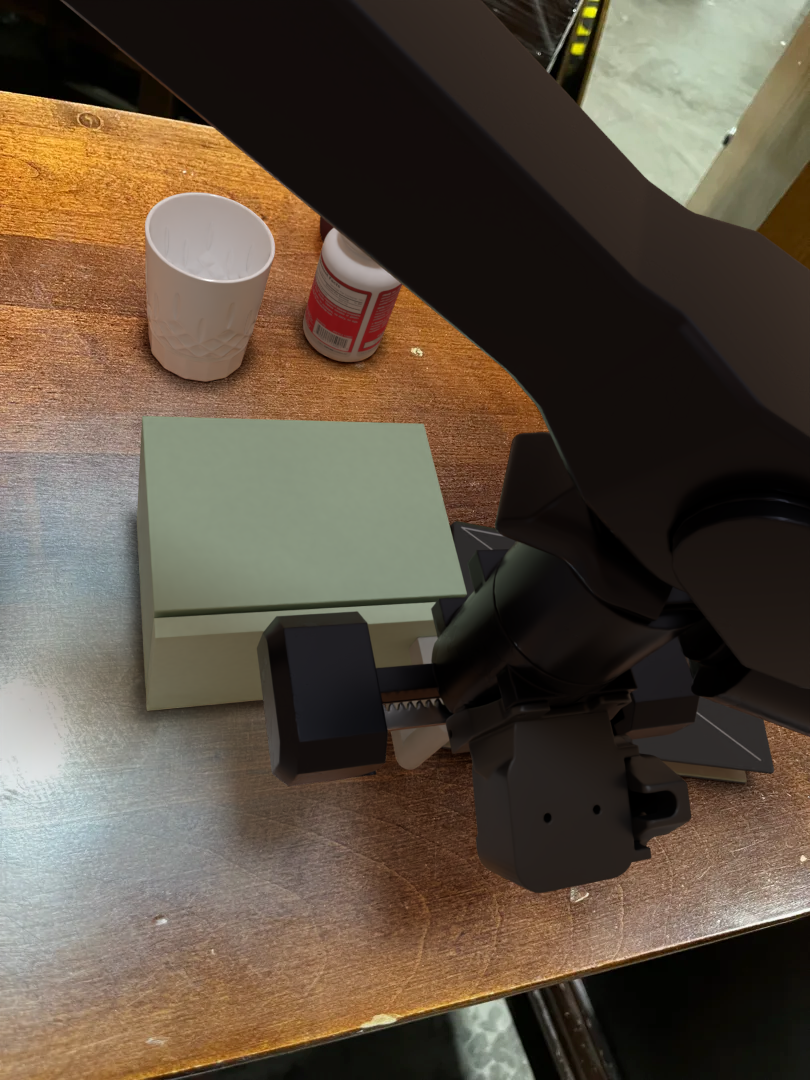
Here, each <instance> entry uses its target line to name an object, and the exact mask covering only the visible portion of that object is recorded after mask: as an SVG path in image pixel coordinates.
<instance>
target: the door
mask: <svg viewBox="0 0 810 1080" xmlns="http://www.w3.org/2000/svg"><path fill="white" fill-rule="evenodd" d="M435 603H436V602H429V603H411V604H394V605H376V606H359V607H341V608H324V609H306V610H289V611H271V612H254V613H236V614H219V615H201V616H184V617H166V618H154V621H153V631H152V640H151V650H150V659H149V669H148V678H147V688H146V689H145V702H146V703H145V708H146V711H147V712H150V711H151V712H152V711H159V710H161V711H162V710H169V709H170V710H171V709H181V708H192V707H200V706H201V707H202V706H213V705H222V704H223V705H224V704H233V703H243V702H255V701H263V696H262V688H261V679H260V671H259V663H258V655H257V646H258V644H259V641H260V639H261V636H262V634H263V632H264V631H265V629H266V628H267V627H268V626H269V625H270V623H271V622H272V621H273V620H274V618H275V617H276V616H288V615H304V614H321V613H338V612H355V611H358V612H359V614H360V615H361V616H362V617H363V618H364V619H365V621H366V622H367V623H368V629H369V634H370V639H371V644H372V650H373V655H374V660H375V666H376V668H383V667H395V666H406V665H418V664H429V663H431V659H432V651H433V647H434V643H435V642H436V641H437V639H438V638H437V633H436V629H435V624H434V620H433V616H432V611H431V608H432V607H433V606H434V604H435ZM438 699H440V701H441V702H442V704H443V701H442V699H441V698H438ZM428 700H429V699H428ZM430 700H431V702H432V703H433V705H434V701H435V700H436V699H430ZM419 701H420V700H419ZM421 701H422V703H423V705H424V706H425V702H426V701H427V700H421ZM409 702H410V701H409ZM417 702H418V701H412V703H413V704H414V706H415V708H416V703H417ZM407 703H408V702H403V704H404V706H405V708H406V707H407ZM390 704H391V703H390ZM390 704H385V708H386V709H387V711H388V706H389V705H390ZM393 704H394V706H395V707H396V709H397V706H398V704H399V703H393ZM390 736H391V740H392V745H393V751H394V756H395V760H396V762H397V763H398V765H399V766H400V767H401V768H403V769H404V770H415V769H417V768H418V767H419V766H421V765H422V764H423V763H424V762H425V761H427V760H428V759H429V758H430V757H431V756H433V755H434V754H435V753H436V752H438V751H439V750H440V749H442V748H441V747H442V746H443V745H445V744H446V743H447V742H448V741H449V737H448V732H447V728H446V725H438V726H430V727H421V728H413V729H404V730H396V731H390Z"/></svg>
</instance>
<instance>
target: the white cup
mask: <svg viewBox="0 0 810 1080" xmlns="http://www.w3.org/2000/svg"><path fill="white" fill-rule="evenodd" d="M144 244H145V245H144V249H145V250H144V251H145V252H144V255H145V256H144V258H145V259H144V260H145V261H144V262H145V263H144V264H145V265H144V266H145V267H144V268H145V271H144V273H145V278H144V279H145V297H146V317H147V320H148V340H149V345H150V346H149V347H150V351H151V354H152V356H153V357H154V358H155V359H156V360H157V362H159V364H160V365H161V366H162V368H164V370H166V371H169V372H171V373H173V374H174V375H176V376H178V377H180V378H182V379H185V380H192V381H199V382H204V383H205V382H206V383H207V382H211V381H215V380H221V379H225V378H227V377H228V376H230V375H231V374H232V373H234V372H235V371H236V370H238V369H239V368H240V367H241V365H242V363H243V361H244V357H245V355H246V351H247V348H248V345H249V340H250V338H251V337H252V336H253V332H254V329H255V326H256V322H257V319H258V316H259V313H260V312H259V311H260V309H261V306H262V303H263V299H264V295H265V292H266V288H267V285H268V280H269V276H270V273H271V268H272V266H273V262H274V258H275V254H276V243H275V239H274V236H273V234H272V231H271V229H270V228H269V226H268V225H267V224H266V223H265V221H264V220H263V219H262V218H261V217H260V216H259V215H258V214H257V213H255V212H254V211H253V210H252V209H250V208H249V207H247V206H246V205H244V204H242V203H240V202H238V201H236V200H233V199H231V198H228V197H227V196H223V195H219V194H216V193H215V194H214V193H209V192H197V191H194V192H192V191H190V192H181V193H176V194H173V195H170V196H167V197H165V198H163V199H162V200H159V202H157V203H155V205H153V207H152V208H150V211H148V214H147V215H146V218H145V222H144Z"/></svg>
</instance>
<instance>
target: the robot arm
mask: <svg viewBox="0 0 810 1080" xmlns="http://www.w3.org/2000/svg"><path fill="white" fill-rule="evenodd" d="M60 2H62V3H63V4H64V5H65V6H66V7H67V8H69V9H70V10H71V11H73V12H74V13H75V14H76V15H77V16H79V18H81V19H82V20H83V21H84V22H86V23H87V24H88V25H89V26H90V27H92V28H93V29H94V30H95V31H97V32H98V34H100V35H101V36H103V37H104V38H105V39H106V40H107V41H108V42H109V43H111V44H112V45H113V46H115V47H116V48H117V49H118V50H119V51H121V52H122V53H123V54H124V55H125V56H126V57H128V58H129V59H130V60H131V61H132V62H134V63H135V64H136V65H137V66H138V67H140V68H141V69H142V70H143V71H144V72H146V73H147V74H148V75H150V76H151V77H152V78H153V79H154V80H156V81H157V82H158V83H159V84H160V85H161V86H163V87H164V88H165V89H166V90H168V92H170V93H171V94H172V95H174V96H175V97H176V98H177V99H178V100H180V102H182V103H183V104H184V105H186V106H187V107H188V108H189V109H190V110H191V111H193V112H194V113H195V114H196V115H198V116H199V117H200V118H201V119H202V120H204V121H205V122H206V123H207V124H208V125H209V126H211V127H212V128H213V129H215V130H216V131H217V132H218V133H219V134H220V135H222V136H223V137H224V138H225V139H226V140H228V141H229V142H230V143H231V144H233V145H234V146H235V147H236V148H237V149H238V150H240V151H241V152H242V153H243V154H244V155H246V156H247V157H248V158H250V159H251V160H252V161H253V162H254V163H255V164H256V165H258V166H259V167H260V168H261V169H262V170H264V171H265V172H267V174H269V176H271V177H272V178H273V179H274V180H276V181H277V182H278V183H279V184H281V185H282V186H283V187H284V188H285V189H286V190H288V191H289V192H290V193H291V194H293V195H294V196H295V197H296V198H297V199H299V200H300V202H302V203H303V204H305V205H306V206H307V207H308V208H310V210H312V211H313V212H314V213H316V214H317V215H318V216H319V218H320V217H322V218H323V219H324V220H325V221H326V222H328V223H329V224H330V225H331V226H332V227H334V228H335V229H336V230H337V231H339V232H340V233H341V234H342V235H343V236H345V237H346V238H347V239H348V240H349V241H351V242H352V243H353V244H354V245H355V246H357V247H358V248H359V249H360V250H361V251H363V252H364V253H365V254H366V255H367V256H369V257H370V258H371V259H372V260H373V261H375V262H376V263H377V264H378V265H379V266H381V267H382V268H383V269H384V270H385V271H387V272H388V273H389V274H390V275H391V276H393V277H394V278H395V279H396V280H397V281H399V282H400V283H401V284H402V287H403V286H404V287H405V289H407V290H408V291H409V292H411V293H412V294H413V295H414V296H415V297H416V298H418V299H419V300H420V301H421V302H422V303H424V305H426V306H427V307H428V308H430V309H431V310H432V311H434V313H436V314H437V315H438V316H439V317H441V318H442V319H443V320H444V321H445V322H447V323H448V324H449V325H451V327H453V328H454V329H455V330H456V331H457V332H459V333H460V334H461V335H462V336H463V337H465V339H467V340H468V341H469V342H471V343H472V344H473V345H474V346H475V347H477V348H478V349H479V350H481V352H482V353H484V354H485V355H486V356H487V357H489V358H490V359H491V360H492V361H493V362H495V363H496V364H497V365H498V366H500V367H501V368H502V370H504V371H505V372H506V373H507V374H508V375H509V376H510V377H511V378H512V379H513V381H514V382H515V383H516V384H517V385H518V386H519V388H521V390H522V391H523V392H524V394H526V396H527V397H528V398H529V399H530V400H531V401H532V402H533V404H534V405H535V406H536V408H537V409H538V411H539V413H540V416H541V418H542V419H543V422H544V424H545V426H546V428H547V430H548V431H533V432H521V433H518V434H516V435H515V436H514V437H513V438H512V439H511V443H510V449H509V453H508V458H507V462H506V463H507V464H506V468H505V473H504V477H503V482H502V488H501V493H500V497H499V503H498V508H497V511H496V518H495V522H494V528H496V531H497V532H498V533H499V534H501V535H502V536H505V537H507V538H510V539H512V540H515V541H516V542H515V543H514V545H513V546H512V547H511V548H510V549H495V550H477V551H476V552H475V553H474V554H473V556H472V557H471V558H470V560H469V561H468V562H467V565H468V569H469V573H470V577H471V581H472V585H473V588H474V592H473V593H472V594H471V595H470V596H469V597H458V598H440V599H438V600H437V602H436V603H435V604H434V606H433V607H432V608H431V611H432V616H433V620H434V624H435V629H436V633H437V638H438V639H437V641H436V642H435V643H434V647H433V651H432V659H431V663H429V664H418V665H406V666H395V667H383V668H376V666H375V660H374V655H373V650H372V644H371V639H370V634H369V629H368V623H367V622H366V621H365V619H364V618H363V617H362V616H361V615H360V614H359V612H358V611H355V612H338V613H321V614H304V615H288V616H276V617H275V618H274V620H273V621H272V622H271V623H270V625H269V626H268V627H267V628H266V629H265V631H264V632H263V634H262V636H261V639H260V641H259V644H258V646H257V655H258V663H259V671H260V679H261V688H262V696H263V700H262V703H263V704H262V705H263V712H264V720H265V721H264V722H265V729H266V737H267V744H268V745H267V746H268V753H269V761H270V769H271V774H272V776H274V777H275V778H277V779H278V780H279V781H281V782H282V783H283V784H285V785H286V786H287V787H289V788H290V787H297V786H303V785H310V784H311V785H312V784H317V783H324V782H333V781H339V780H346V779H347V780H349V779H354V778H361V777H369V776H370V777H371V776H376V775H377V771H379V770H380V769H381V768H382V767H383V766H384V765H385V764H387V752H388V751H387V750H388V738H389V732H391V731H396V730H404V729H413V728H421V727H430V726H438V725H446V728H447V732H448V737H449V741H450V746H451V749H450V750H451V754H453V755H455V754H461V753H469V754H470V757H471V763H472V765H471V776H472V777H471V778H472V779H471V780H472V789H473V798H474V799H473V800H474V810H475V822H476V834H477V835H476V837H475V847H476V854H477V857H478V860H479V862H480V863H481V865H482V866H483V867H484V868H485V869H486V870H487V871H489V872H491V873H493V874H495V875H497V876H499V877H501V878H503V879H505V880H507V881H509V882H511V883H513V884H515V885H517V886H519V887H521V888H523V889H525V890H526V891H530V892H531V893H535V894H545V893H550V892H555V891H559V890H564V889H565V890H566V889H569V888H574V887H579V886H583V885H584V886H585V885H589V884H593V883H599V882H602V881H603V882H604V881H608V880H612V879H616V878H618V877H620V876H622V875H624V874H625V873H626V872H627V871H628V869H629V868H630V866H631V864H633V863H637V862H643V861H647V860H651V859H652V850H651V847H649V846H647V845H648V843H649V842H650V840H652V839H654V838H656V837H661V836H666V835H669V834H670V833H672V832H674V831H675V830H677V829H679V828H681V827H682V826H683V825H685V824H687V823H688V822H690V821H691V819H692V809H691V803H690V796H689V795H690V794H689V786H688V783H687V781H686V780H684V779H683V778H682V776H679V775H678V774H676V773H675V772H674V771H673V770H672V769H671V768H670V767H668V766H667V765H666V764H665V763H664V762H663V761H661V760H660V759H659V758H658V757H656V756H654V755H649V754H642V753H639V748H638V745H634V744H633V741H632V740H633V739H640V738H648V737H655V736H662V735H670V734H672V733H674V732H676V731H678V730H680V729H682V728H684V727H686V726H688V725H690V724H692V723H694V722H695V718H696V714H697V709H698V703H699V698H700V697H703V698H705V699H708V700H711V701H714V702H716V703H719V704H722V705H724V706H727V707H730V708H732V709H735V710H738V711H741V712H743V713H746V714H749V715H751V716H754V717H757V718H759V719H762V720H764V722H765V721H766V722H767V723H770V724H773V725H776V726H778V727H781V728H785V729H787V730H789V731H791V732H792V731H793V732H795V733H798V734H800V735H803V736H806V737H808V738H810V269H809V268H808V267H807V266H805V265H804V264H802V263H801V262H800V261H798V260H797V259H796V258H795V257H793V256H792V255H790V254H789V253H788V252H786V251H785V250H784V249H783V248H781V247H780V246H778V244H775V242H773V241H772V240H770V239H769V238H767V237H766V236H765V235H764V234H762V233H761V232H759V231H757V230H754V229H751V228H747V227H744V226H740V225H737V224H733V223H730V222H726V221H724V220H720V219H717V218H713V217H710V216H706V215H703V214H700V213H696V212H694V211H692V210H690V209H688V208H687V207H686V206H685V205H683V204H681V202H679V201H677V200H676V199H675V198H673V197H672V196H671V195H669V194H668V193H666V192H665V191H664V190H663V189H661V188H660V187H658V186H657V185H656V184H654V183H653V182H652V181H650V180H649V179H648V178H647V177H645V175H644V174H643V173H642V172H641V171H640V170H639V169H638V168H637V167H636V166H635V164H634V163H633V162H632V161H631V160H630V159H629V158H628V157H627V156H626V155H625V154H624V153H623V151H622V150H620V148H619V147H618V146H617V145H616V144H615V142H613V141H612V139H610V137H608V135H607V134H606V133H605V132H604V131H603V130H602V129H601V128H600V127H599V126H598V125H597V124H596V123H595V121H594V120H593V119H592V118H591V117H590V116H589V115H588V114H587V113H586V112H585V110H584V109H583V108H581V106H580V105H579V104H578V103H577V102H576V101H575V100H574V99H573V97H572V96H570V94H569V93H568V92H567V91H566V90H565V89H564V88H563V87H562V85H560V83H558V81H557V80H556V79H555V78H554V77H553V76H552V74H550V73H549V72H548V71H547V69H546V68H545V67H544V66H543V65H542V64H541V63H540V62H539V61H538V60H537V59H536V58H535V56H534V55H532V53H531V51H530V50H528V49H527V48H526V46H524V44H522V43H521V41H520V40H519V39H518V38H517V37H516V36H515V35H514V34H513V33H512V32H511V30H509V28H508V27H507V26H506V25H505V24H504V23H503V21H501V20H500V19H499V18H498V17H497V15H495V13H494V12H493V11H492V10H491V9H490V7H488V6H487V5H486V4H485V2H483V1H482V0H60ZM687 658H688V659H689V661H688V659H687ZM438 698H441V699H442V701H443V704H442V702H441V701H440V699H438ZM428 699H429V700H428ZM430 699H436V700H435V701H434V705H433V703H432V702H431V700H430ZM419 700H420V701H419ZM421 700H427V701H426V702H425V706H424V705H423V703H422V701H421ZM409 701H410V702H409ZM412 701H418V702H417V703H416V708H415V706H414V704H413V703H412ZM403 702H408V703H407V707H406V708H405V706H404V704H403ZM390 703H391V704H390ZM393 703H399V704H398V706H397V709H396V707H395V706H394V704H393ZM386 704H390V705H389V706H388V711H387V709H386Z"/></svg>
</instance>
